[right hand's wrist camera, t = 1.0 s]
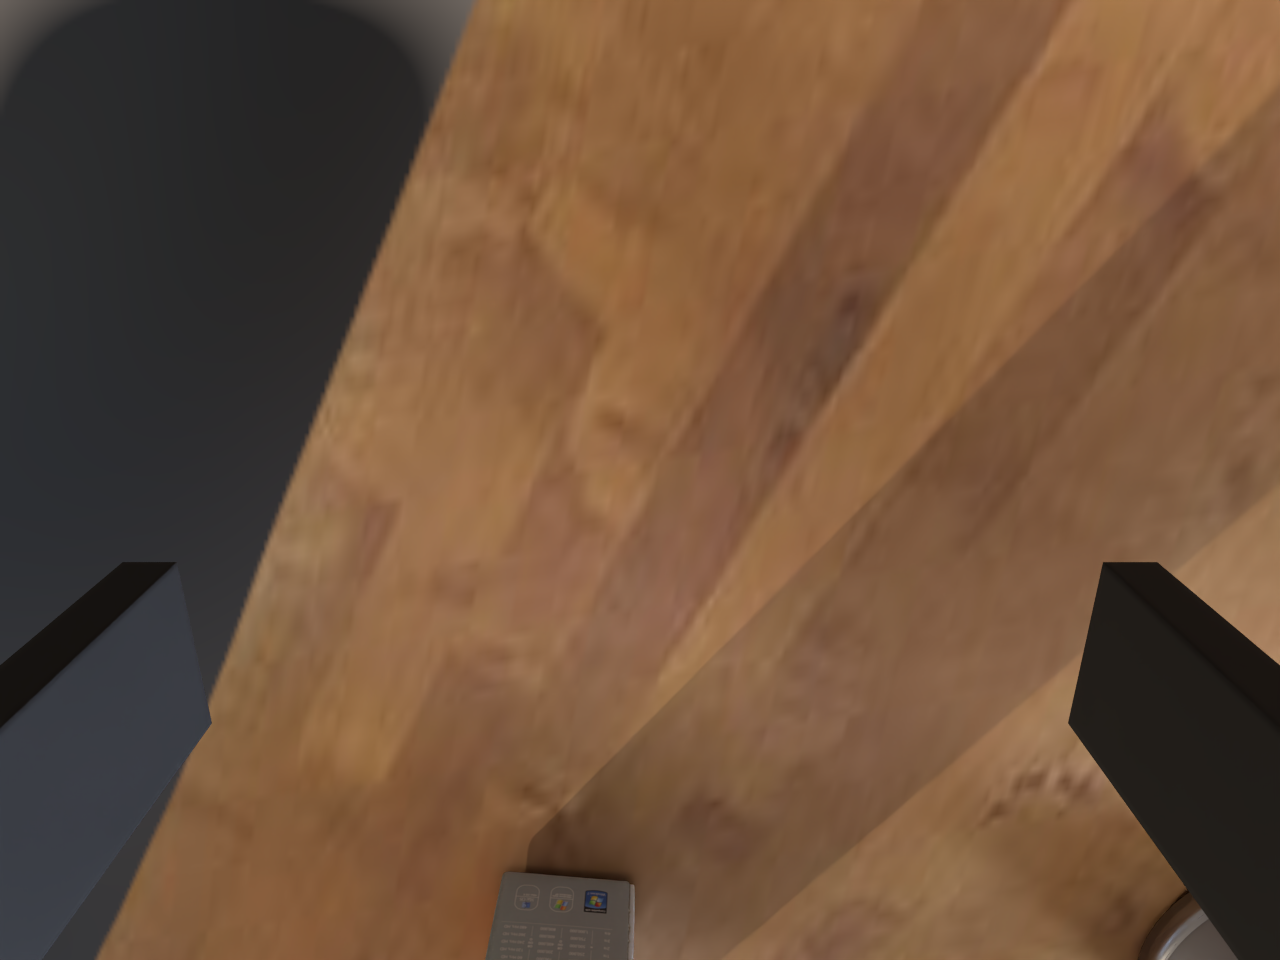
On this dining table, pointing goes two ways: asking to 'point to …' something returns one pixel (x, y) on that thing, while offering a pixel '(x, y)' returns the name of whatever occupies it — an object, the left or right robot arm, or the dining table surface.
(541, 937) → the hard drive box
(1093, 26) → the dining table surface
